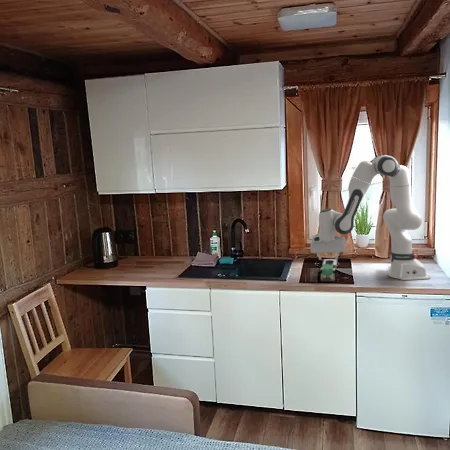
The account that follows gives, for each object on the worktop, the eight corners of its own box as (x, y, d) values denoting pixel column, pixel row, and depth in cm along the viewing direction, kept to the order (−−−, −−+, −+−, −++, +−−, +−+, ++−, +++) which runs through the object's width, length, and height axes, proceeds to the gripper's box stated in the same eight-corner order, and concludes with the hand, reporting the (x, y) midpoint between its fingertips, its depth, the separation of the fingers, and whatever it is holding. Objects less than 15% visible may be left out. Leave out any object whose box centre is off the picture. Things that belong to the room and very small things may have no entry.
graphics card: (337, 258, 306) (334, 268, 283) (337, 263, 307) (334, 273, 283) (322, 258, 309) (317, 268, 286) (322, 263, 310) (318, 273, 286)
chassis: (334, 274, 279) (334, 266, 278) (334, 281, 266) (334, 272, 265) (320, 274, 281) (320, 266, 280) (320, 281, 268) (320, 272, 267)
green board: (332, 268, 279) (332, 264, 278) (333, 274, 265) (333, 270, 265) (322, 268, 280) (322, 264, 280) (322, 274, 267) (322, 270, 266)
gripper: (345, 234, 270) (346, 257, 272) (309, 236, 275) (311, 258, 277) (345, 237, 264) (346, 260, 266) (309, 238, 269) (310, 261, 271)
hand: (328, 259), depth 272 cm, fingers open, 8 cm apart
